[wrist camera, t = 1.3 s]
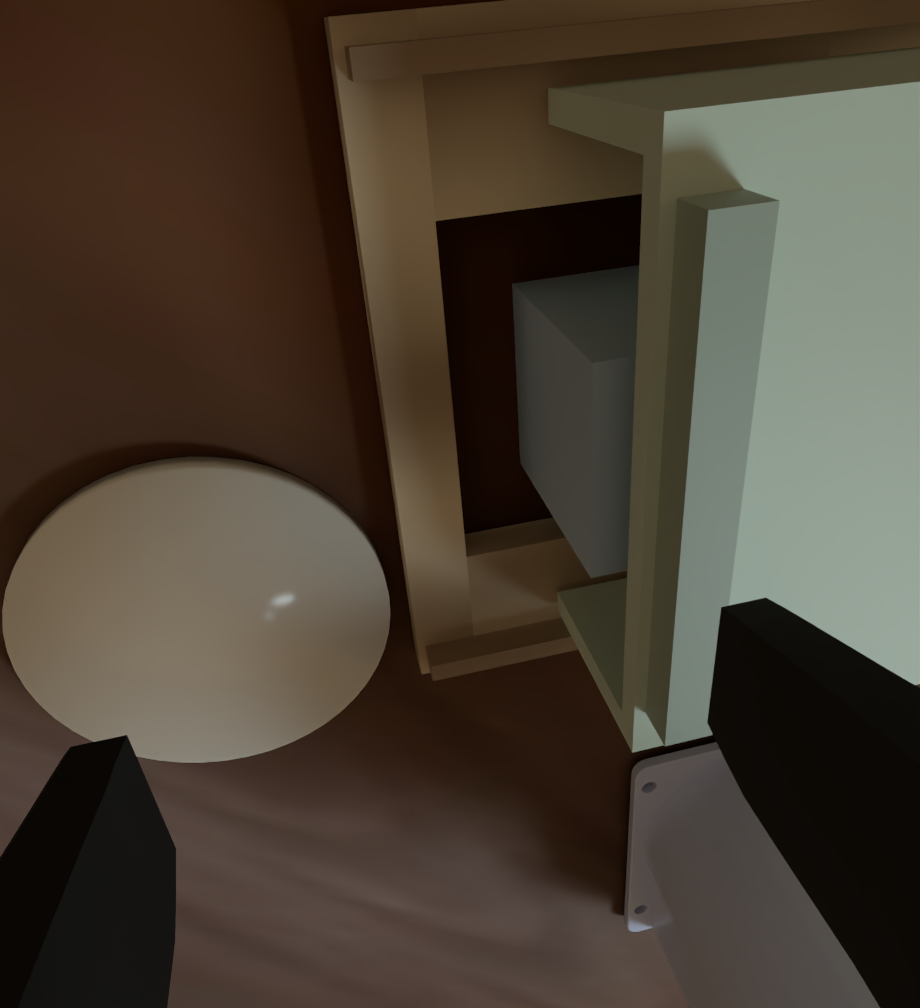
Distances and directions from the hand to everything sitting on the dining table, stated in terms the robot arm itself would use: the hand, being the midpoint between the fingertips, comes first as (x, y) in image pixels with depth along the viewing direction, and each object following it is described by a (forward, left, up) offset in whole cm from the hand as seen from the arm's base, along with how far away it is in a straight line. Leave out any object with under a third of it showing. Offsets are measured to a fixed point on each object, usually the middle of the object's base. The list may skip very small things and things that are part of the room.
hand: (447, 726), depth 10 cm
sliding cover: (0, -9, -9) cm, 13 cm away
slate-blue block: (0, -6, -10) cm, 12 cm away
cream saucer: (-5, +4, -10) cm, 12 cm away
